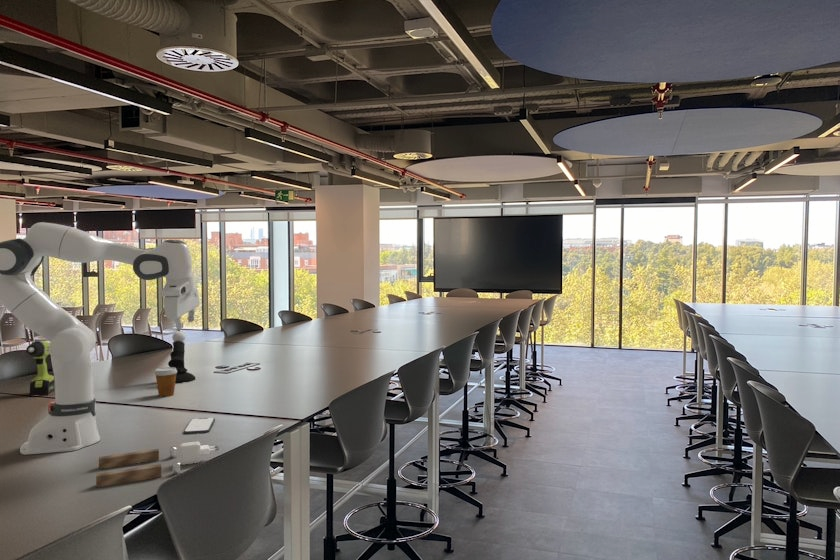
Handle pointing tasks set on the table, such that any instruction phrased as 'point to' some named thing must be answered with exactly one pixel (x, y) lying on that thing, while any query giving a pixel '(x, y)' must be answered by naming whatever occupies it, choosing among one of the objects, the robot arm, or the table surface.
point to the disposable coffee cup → (166, 380)
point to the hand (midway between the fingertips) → (185, 325)
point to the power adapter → (194, 452)
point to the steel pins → (176, 464)
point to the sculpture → (179, 359)
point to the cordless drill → (41, 369)
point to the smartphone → (199, 426)
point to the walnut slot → (128, 474)
